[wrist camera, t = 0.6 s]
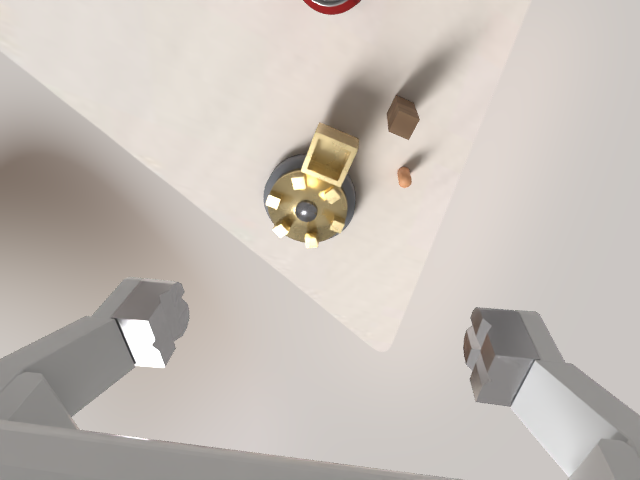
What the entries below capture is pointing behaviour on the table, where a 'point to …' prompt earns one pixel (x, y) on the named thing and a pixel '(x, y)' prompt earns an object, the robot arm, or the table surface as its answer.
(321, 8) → the soda can
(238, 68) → the table surface
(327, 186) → the rotary feeder
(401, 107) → the brown wooden peg
